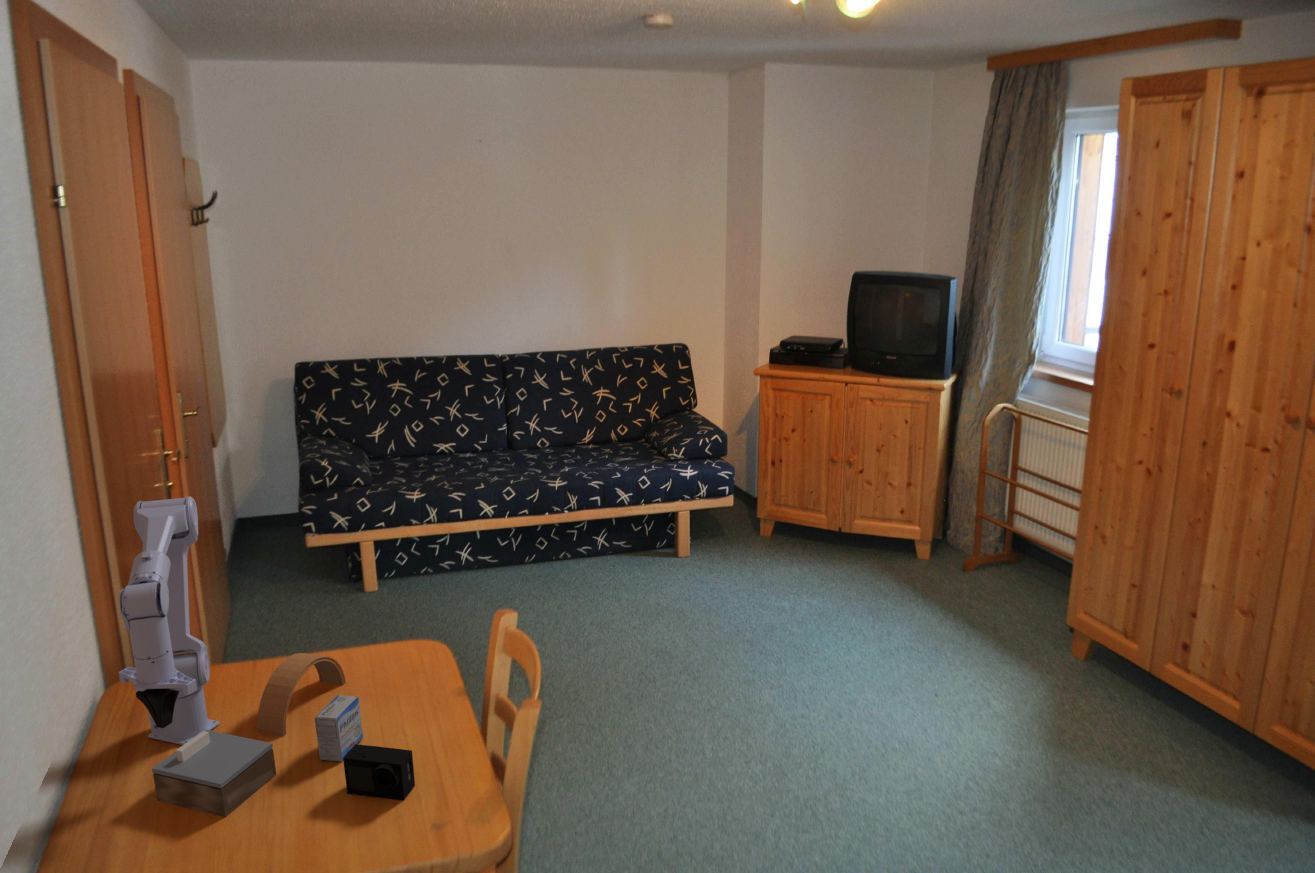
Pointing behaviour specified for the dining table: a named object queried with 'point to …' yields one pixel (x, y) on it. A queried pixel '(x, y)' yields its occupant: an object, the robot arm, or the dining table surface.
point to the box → (213, 797)
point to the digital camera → (379, 772)
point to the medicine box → (338, 727)
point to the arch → (292, 688)
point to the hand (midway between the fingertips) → (164, 724)
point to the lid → (212, 758)
